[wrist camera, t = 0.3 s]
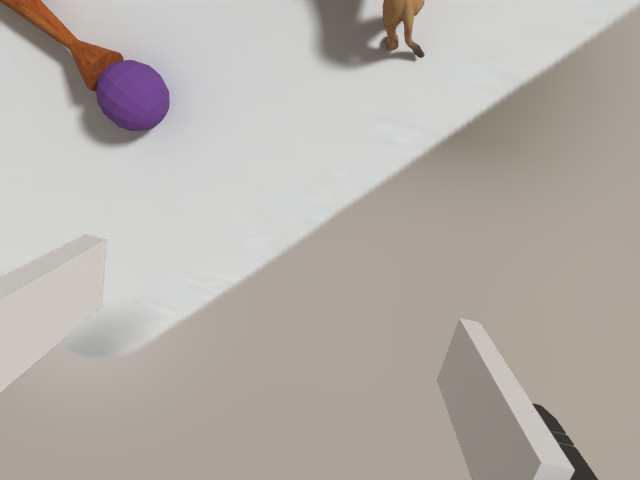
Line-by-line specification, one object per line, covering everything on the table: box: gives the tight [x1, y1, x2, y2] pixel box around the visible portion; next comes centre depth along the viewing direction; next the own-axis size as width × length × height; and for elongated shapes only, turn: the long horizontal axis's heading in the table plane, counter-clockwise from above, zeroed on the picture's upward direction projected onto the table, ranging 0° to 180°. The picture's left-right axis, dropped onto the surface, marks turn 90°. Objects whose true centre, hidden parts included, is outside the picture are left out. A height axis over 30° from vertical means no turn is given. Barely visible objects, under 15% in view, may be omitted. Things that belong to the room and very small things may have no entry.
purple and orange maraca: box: [0, 0, 170, 131], centre depth 38 cm, size 6×6×20 cm
